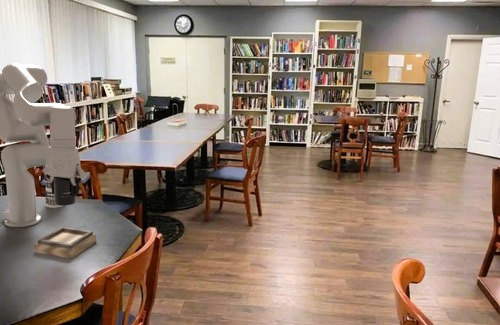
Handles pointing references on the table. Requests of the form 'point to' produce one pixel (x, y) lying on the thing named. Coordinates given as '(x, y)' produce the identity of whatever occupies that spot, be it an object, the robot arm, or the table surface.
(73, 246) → the wooden tray
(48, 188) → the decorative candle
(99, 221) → the table surface
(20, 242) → the table surface
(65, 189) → the supplement bottle
